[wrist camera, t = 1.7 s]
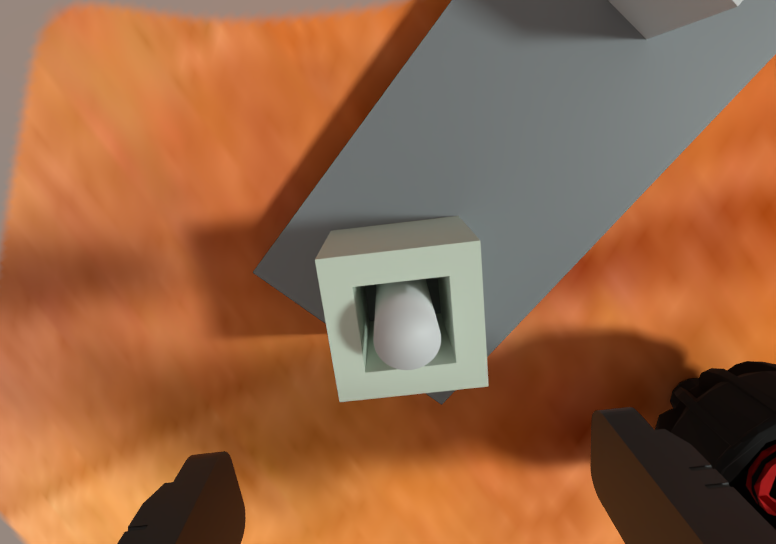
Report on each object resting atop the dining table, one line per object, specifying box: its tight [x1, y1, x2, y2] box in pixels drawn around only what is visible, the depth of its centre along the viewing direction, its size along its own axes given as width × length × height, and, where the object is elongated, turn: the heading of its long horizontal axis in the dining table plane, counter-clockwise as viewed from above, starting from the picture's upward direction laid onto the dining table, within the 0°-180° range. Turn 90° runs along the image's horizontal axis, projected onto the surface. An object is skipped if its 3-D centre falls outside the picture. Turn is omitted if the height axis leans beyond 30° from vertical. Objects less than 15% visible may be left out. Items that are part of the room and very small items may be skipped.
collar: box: [315, 216, 489, 402], centre depth 19 cm, size 6×6×5 cm
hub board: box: [253, 0, 776, 405], centre depth 17 cm, size 24×12×8 cm, turn 142°
